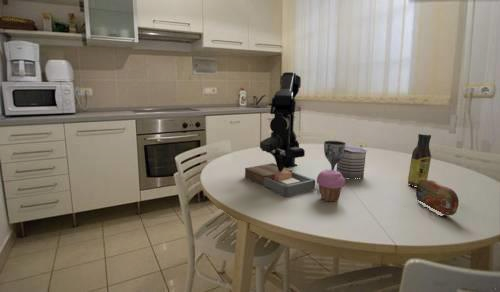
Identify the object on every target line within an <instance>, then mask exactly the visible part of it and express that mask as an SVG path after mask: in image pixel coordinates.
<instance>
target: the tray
mask: <svg viewBox="0 0 500 292" xmlns="http://www.w3.org/2000/svg"><path fill="white" fill-rule="evenodd" d="M292 178H294V179H296V180H299V181H300V183H296V184H292V185H287V186H285V185H283V184H281V183H278V182H276V181H274V180H272V179H269V178H267V177H264V184H263V186H262V187H263V188H265V189H267V190H269V191H272V192H274V193H276V194H278V195H280V196H282V197H284V198H287V197H291V196H295V195H298V194H302V193H306V192H310V191H314V190H316V179H314V178H311V177H309V176H305V175H303V174H301V173H298V172H294V171H292Z"/></svg>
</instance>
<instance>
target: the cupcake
mask: <svg viewBox="0 0 500 292" xmlns="http://www.w3.org/2000/svg"><path fill="white" fill-rule="evenodd" d="M316 183H317V184H318V190H319V194H320V197H321V198H322V199H324V201H325V202H338V201H339V199H340V196H341V192H342V188H343V187H344V186H345V185H346V179H345V178H343V176H342V174H341V173H340V172H339V171H336V170H335V169H334V170H331V169H324V170H322V171H320V172H319V173H318V175H317V177H316Z"/></svg>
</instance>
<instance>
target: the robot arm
mask: <svg viewBox="0 0 500 292" xmlns="http://www.w3.org/2000/svg"><path fill="white" fill-rule="evenodd" d="M279 80H280V81H279V86H280V88H279V90H277V91H275V93H274V96H272V99H271V105H270V113H269V114H270V115H274V117H273V118H272V119H271V120H270V123H269V128H270V130H271V133H270V136H269V137H266V138H264V139H262V140H261V141H259V142H260V143H259V149H261V151H262V152H266V153H267V154H271V156H273V157H274V159H275V164H276V165H277V167H278V171H280V172H281V171H282V170H283V168H284V167H285V168H292V167H297V166H298V164H297V163H296V158H297V159H298V158H304V157H305V152H306V151H305V149H304V148H303V147H300V143H299V141H298V140H297V134H296V132H295V131H294V124H295V123H294V122H295V112H296V104H297V100H296V96H297V95H298V94H299V92H300V88H301V87H302V86H301V85H302V78H301V76H300V75H298V74H296V72H293V71H292V72H291V71H290V72H289V71H288V72H286V71H285V72H283V73H282V75H281V76H280V79H279Z"/></svg>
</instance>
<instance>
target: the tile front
mask: <svg viewBox="0 0 500 292" xmlns="http://www.w3.org/2000/svg"><path fill="white" fill-rule="evenodd" d="M279 183H281V184H283V185H285V186H287V185H292V184H296V183H300V181H299V180H296V179H294V178H288V179H283V180H279Z"/></svg>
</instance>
